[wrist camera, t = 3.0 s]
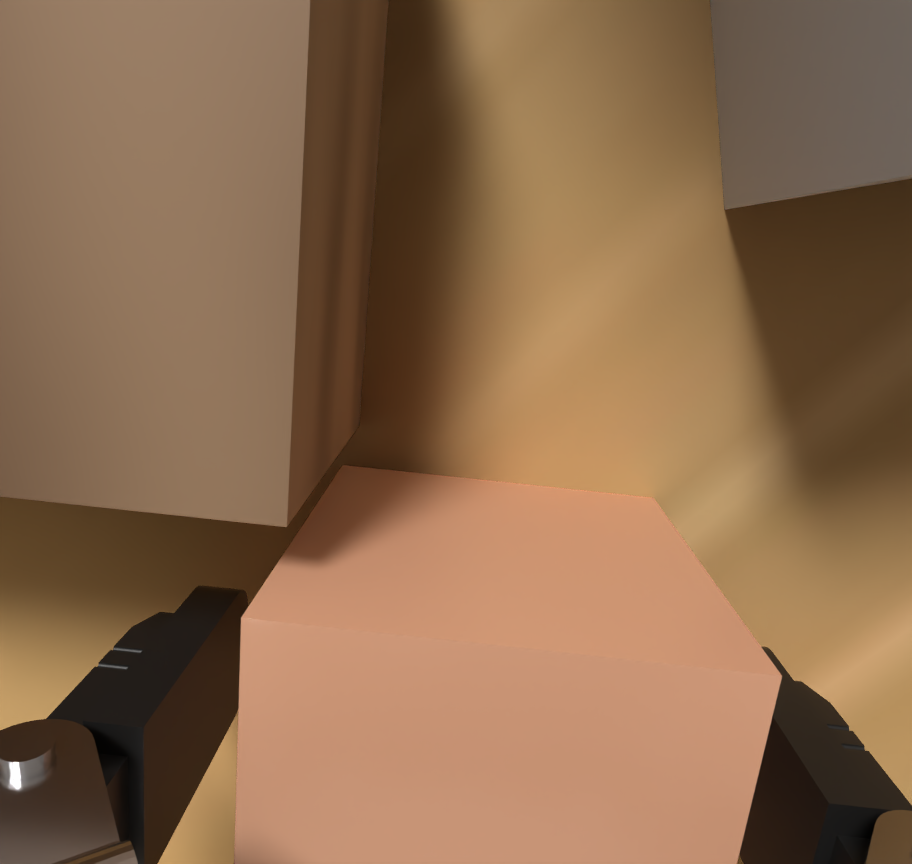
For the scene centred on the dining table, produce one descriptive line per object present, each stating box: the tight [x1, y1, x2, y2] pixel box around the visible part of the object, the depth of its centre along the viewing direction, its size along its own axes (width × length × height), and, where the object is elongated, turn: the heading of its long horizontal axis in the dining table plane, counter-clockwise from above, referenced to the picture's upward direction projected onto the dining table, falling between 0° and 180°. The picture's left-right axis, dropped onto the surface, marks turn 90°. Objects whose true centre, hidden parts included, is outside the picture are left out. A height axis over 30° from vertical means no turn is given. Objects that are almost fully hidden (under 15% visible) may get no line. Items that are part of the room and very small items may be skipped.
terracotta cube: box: [234, 465, 782, 864], centre depth 10 cm, size 6×6×6 cm
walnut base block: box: [0, 0, 389, 527], centre depth 9 cm, size 9×9×5 cm
